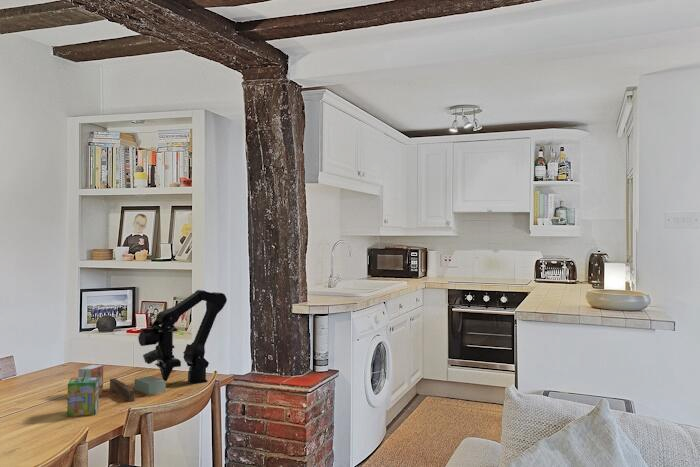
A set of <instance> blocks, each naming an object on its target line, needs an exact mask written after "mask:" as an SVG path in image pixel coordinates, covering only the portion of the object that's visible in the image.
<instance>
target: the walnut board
mask: <svg viewBox="0 0 700 467" xmlns="http://www.w3.org/2000/svg"><path fill="white" fill-rule="evenodd" d="M109 389H110V390H111V391H112V392H114V393H115V394H117V395H119V396H120V397H121V398H123V399H124V400H126V401H128V403H129V402H130V403H131V402H135V398H136V397H135V394H136V392H135V391H136V390H135V389H134V388H132V387H130V386H128V385H127V384H125V383H124V382H122V381H121V380H119V379H117V378H116V377H115V378H114V377H113V378H109Z"/></svg>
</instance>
